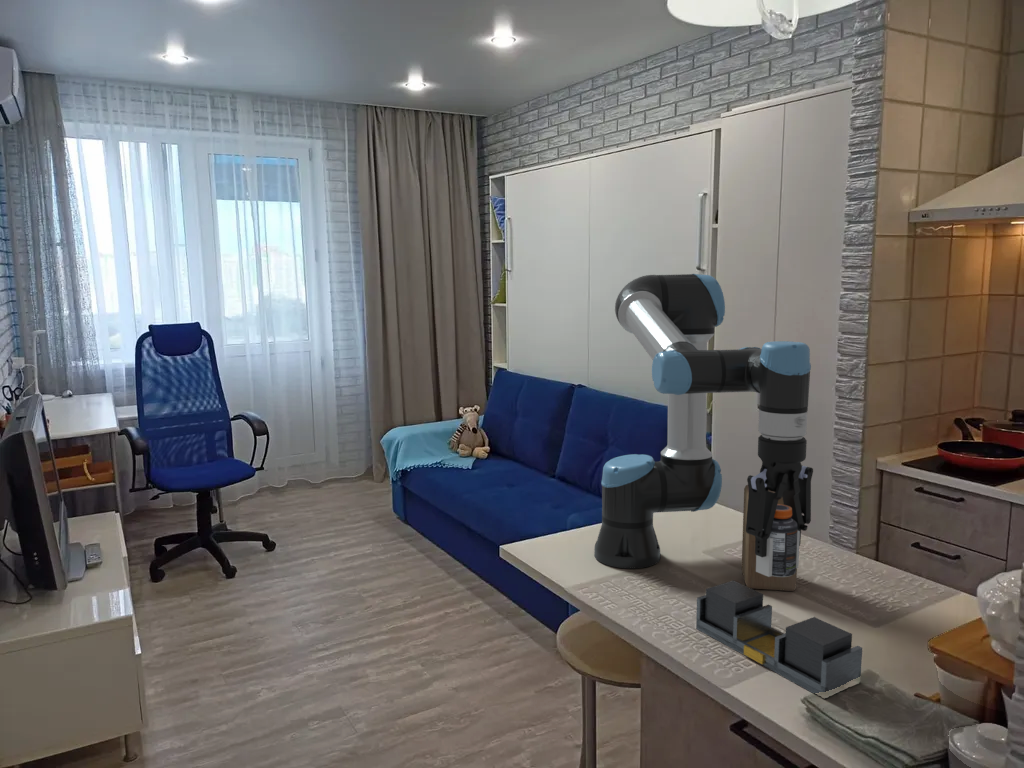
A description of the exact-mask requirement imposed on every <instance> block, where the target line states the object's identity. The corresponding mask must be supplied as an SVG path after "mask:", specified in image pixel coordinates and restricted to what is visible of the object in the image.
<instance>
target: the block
mask: <svg viewBox="0 0 1024 768" xmlns="http://www.w3.org/2000/svg"><path fill="white" fill-rule="evenodd" d="M768 491H769V492H773V491H770V490H769V489H768ZM773 493H775V492H773ZM748 495H749V487H748V484H747V485H745V486H744V488H743V513H742V515H743V518H742V543H741V544H742V545H741V571H742V576H743V580H744V583H745V586H747V587H749V588H751V589H754V590H755V589H757V590H759V589H760V590H768V591H769V590H772V591H786V592H788V591H789V592H794V591H795V589H796V588H797V577H798V568H796V572H795V574H794V575H792V576H788V577H775V576H770V577H768V576H765V575H763V574H760V573H758V572H756V554H755V536H754V535H751V534H748V533H746V521H747V508H748ZM778 504H783V505H784V503H783V498H781V499H779V500H778Z"/></svg>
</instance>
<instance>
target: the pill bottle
mask: <svg viewBox="0 0 1024 768" xmlns="http://www.w3.org/2000/svg"><path fill="white" fill-rule="evenodd" d="M791 517H792V508H791V507H790V506H787V505H783V504H777V508H776V512H775V516H774V520H773V524H772V528H771V532H770V536H769V537H771V538H773V559H772V576H775V577H788V576H792V575H794V574H795V572H796V558H797V528H798V525H797V523H796V521H795V520H794V519H792V518H791ZM763 530H764V529H763Z"/></svg>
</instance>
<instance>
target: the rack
mask: <svg viewBox="0 0 1024 768" xmlns="http://www.w3.org/2000/svg"><path fill="white" fill-rule="evenodd" d="M772 618H773V606H772V605H771V604H764V594H763V593H761V592H760V591H758V590H755V589H754V588H749V587H747V586H746V585H744V584H742V583H740V582H737V581H735V580H731V581H728V582H725V583H724V582H723V583H721V584H718V585H715V586H711V587H708V588H706V589H705V595H703V596H702V595H701V596H699V597H697V598H696V618H695V619H696V620H695V621H696V622H695V623H696V624H695V625H696V626H695V628H696V630H698V631H699V632H702V633H703V634H705V635H706V636H708V637H710V638H712V639H714V640H715V641H718V642H719V643H721V644H723V645H724V646H726V647H728V648H730V649H732V650H734V651H736V652H738V653H739V654H741V655H743V656H745V657H747V658H748V659H750V660H752V661H754V662H756V663H758V664H759V665H762V666H763V667H765V668H767V669H769V670H770V671H772V672H774V673H776V674H777V675H779V676H781V677H783V678H784V679H786V680H788V681H790V682H792V683H794V684H795V685H797V686H799V687H800V688H803V689H805V690H806V691H808V692H809V693H812V694H813V693H819V692H826V691H829V690H832V689H835V688H837V687H840V686H841V685H844V684H846V683H847V682H849V681H851V680H853V679H856V678H858V677H860V676H861V677H862V662H863V647H862V646H859V645H857V646H853V647H852V644H853V643H852V642H853V633H851V632H849V631H847V630H844V629H842V628H840V627H838V626H835V625H833V624H831V623H829V622H826V621H824V620H822V619H821V618H817V617H815V616H813V617H811V618H807V619H804V620H802V621H799V622H796V623H794V624H792V625H789V626H786V627H785V633H784V632H781V631H780V630H778V629H776V628H774V627H772Z"/></svg>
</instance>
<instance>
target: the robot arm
mask: <svg viewBox="0 0 1024 768" xmlns="http://www.w3.org/2000/svg"><path fill="white" fill-rule="evenodd" d="M722 289H723V288H722V286H721V285H720V283H719V282H718V280H717V279H716V277H713V275H710V274H701V273H700V274H699V273H691V274H690V273H689V274H685V273H684V274H682V273H681V274H648V275H642V276H639V277H637V278H634V279H632V280H631V281H629V282H628V283H627V284H625V285H624V287H623V288H622V289H621V290H620V292H619V293H618V295H617V298H616V300H615V305H614V312H615V317H616V319H617V321H618V323H619V324H620V326H621V327H622V328H623V329H624V330H625V331H626V332H628V333H630V334H633V336H635V338H636V339H637V341H638V342H639V344H640V345H641V346H642V347H643V349H644V350H645V352H646V353H647V355H648V356H649V357H650V358H651V359H652V365H651V378H652V381H653V385H654V388H655V389H656V391H657V392H658V393H660V394H663V395H665V394H666V395H667V445H666V446H664V448H663V449H662V450H661V451H660V460H659V461H655V459H654V458H653V456H651V455H649V454H644V453H643V454H637V453H634V454H633V453H632V454H625V455H620V456H619V455H618V456H617V457H613V458H611V459H610V460H608V461H606V462H605V464H604V465H603V467H602V477H601V483H600V484H601V494H602V495H601V505H602V506H601V526H600V529H599V532H598V536H597V538H596V539H597V540H596V541H595V544H594V549H593V550H594V551H593V552H594V554H593V555H594V558H595V559H596V560H597V561H598V562H600V563H602V564H604V565H605V566H606V565H607V566H609V567H613V568H618V569H643V568H648V567H651V566H655V565H656V564H658V563H659V562H660V561H661V547H660V544H659V540H658V537H657V534H656V531H655V527H654V514H655V513H656V514H657V513H675V512H677V513H678V512H691V513H692V512H697V511H704V510H705V511H706V510H710V509H712V508H713V507H714V506H715V505H716V504H717V503H718V500H719V498H720V496H721V492H722V487H723V486H722V485H723V476H722V469H721V466H720V464H719V462H718V461H717V460H716V459H714V458H713V453H712V451H710V450H709V449H708V447H707V446H706V445H707V444H706V443H707V440H706V438H707V394H709V393H711V394H713V393H721V394H722V393H724V394H725V393H749V392H750V393H757V394H759V408H758V424H757V425H758V427H757V429H758V433H759V434H760V435H759V436H758V438H757V440H758V441H757V456H758V457H759V459H760V460H761V466H760V467H761V468H760V469H759V473H757V474H756V475H751V474H749V475H748V476H747V479H746V482H747V485H748V487H749V495H748V508H747V521H746V533H748V534H751V535H754V536H755V554H756V572H758V573H760V574H763V575H765V576H768V577H770V576H772V559H773V538H771V537H769V536H770V532H771V528H772V524H773V520H774V516H775V512H776V508H777V504H778V500H779V499H781V498H783V503H784V505H787V506H790V507H791V508H792V517H791V518H792V519H794V520H795V521H796V523H797V525H798V528H797V558H796V568H797V569H798V568H799V562H800V561H799V559H800V546H801V543H802V541H801V539H802V538H801V537H802V531H804V532H807V530H808V525H809V524H810V523H811V521H812V478H813V473H814V468H813V467H810V466H807V465H802V463H803V462H804V461H806V457H807V444H808V443H807V441H808V440H807V439H806V438H805V436H806V435H807V429H808V407H809V399H810V395H809V394H810V379H811V378H810V376H811V368H812V366H811V365H812V364H811V358H810V357H811V353H810V352H811V351H810V347H809V345H808V344H806V343H805V342H801V341H790V340H787V341H783V340H782V341H781V340H779V341H774V340H773V341H766V342H765V343H763V345H762V347H761V348H760V347H757V346H754V347H753V346H752V347H751V346H749V347H748V346H745V347H741V348H738V349H710V350H709V349H708V342H709V341H710V340H711V339H712V338H713V337H714V336H715V328H716V327H718V326H720V325H722V323H723V322H724V317H725V316H726V315H725V313H726V304H725V303H726V302H725V298H724V297H725V296H724V292H723V290H722ZM768 489H769V490H770V491H773V492H775V493H773V492H769V491H768ZM763 529H764V530H763Z"/></svg>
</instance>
